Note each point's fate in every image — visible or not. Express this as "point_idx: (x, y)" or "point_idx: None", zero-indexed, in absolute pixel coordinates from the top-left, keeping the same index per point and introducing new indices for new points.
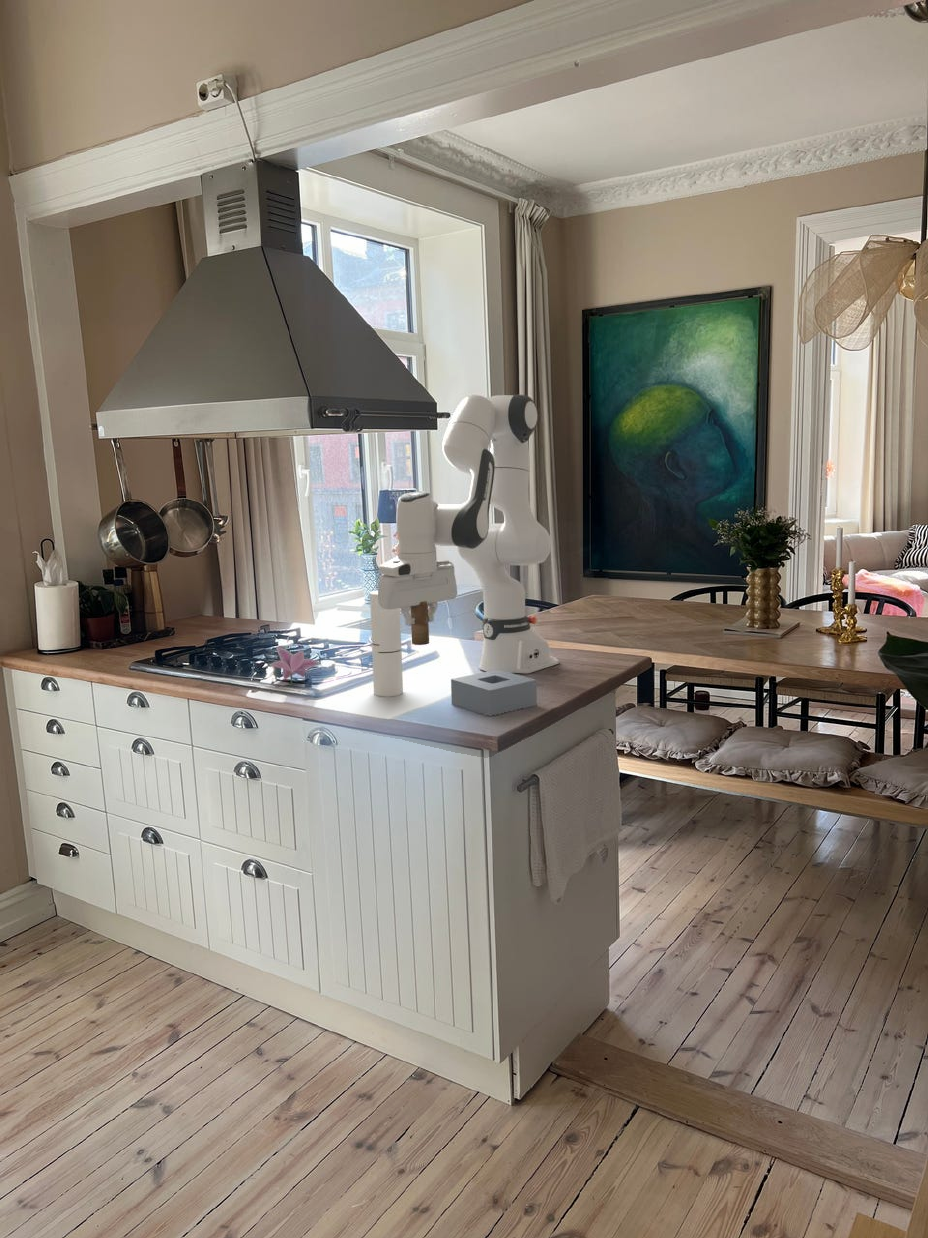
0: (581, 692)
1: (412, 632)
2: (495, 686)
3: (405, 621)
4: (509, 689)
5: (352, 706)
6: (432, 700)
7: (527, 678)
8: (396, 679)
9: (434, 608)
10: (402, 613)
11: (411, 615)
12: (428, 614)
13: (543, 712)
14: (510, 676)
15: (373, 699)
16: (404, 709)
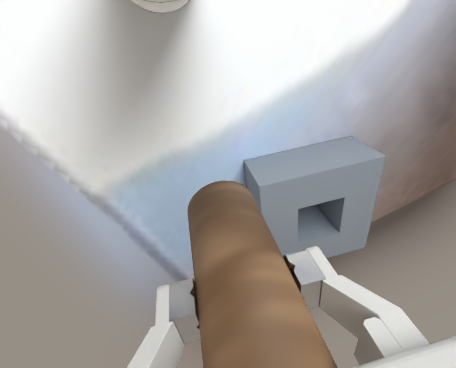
0: (430, 190)
1: (191, 249)
2: None
3: (156, 302)
4: None
5: (10, 53)
6: (226, 114)
7: (363, 236)
8: (169, 9)
9: (357, 337)
10: (131, 363)
11: (200, 329)
12: (311, 299)
13: None
14: (356, 215)
15: (88, 11)
16: (144, 148)
